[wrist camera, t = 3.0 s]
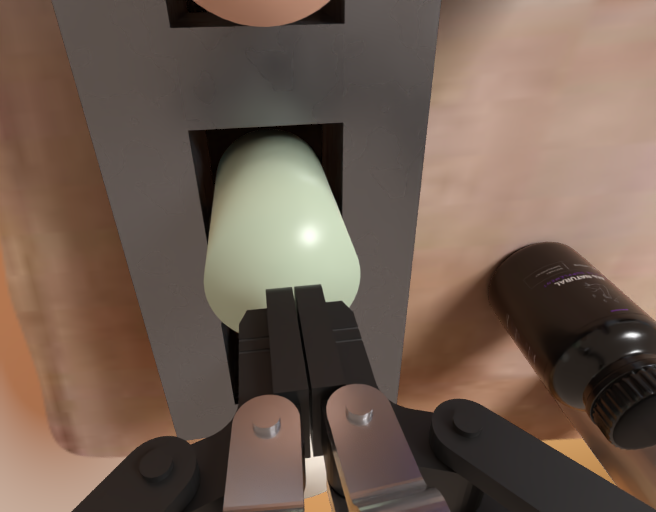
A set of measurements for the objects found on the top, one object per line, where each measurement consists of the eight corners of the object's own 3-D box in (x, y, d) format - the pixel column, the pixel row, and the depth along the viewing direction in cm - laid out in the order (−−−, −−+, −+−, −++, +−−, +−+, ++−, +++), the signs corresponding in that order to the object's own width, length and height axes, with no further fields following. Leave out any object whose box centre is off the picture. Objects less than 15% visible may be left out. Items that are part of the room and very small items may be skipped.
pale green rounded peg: (323, 223, 22) (358, 333, 16) (223, 231, 22) (215, 349, 15) (322, 125, 20) (362, 207, 13) (209, 131, 19) (191, 220, 13)
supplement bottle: (556, 218, 30) (714, 346, 20) (589, 280, 33) (739, 416, 23) (466, 279, 31) (571, 426, 21) (507, 332, 35) (614, 480, 25)
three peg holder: (372, 344, 33) (395, 411, 28) (188, 366, 32) (178, 441, 27) (409, -249, 17) (478, -337, 12) (39, -269, 16) (-59, -381, 11)
